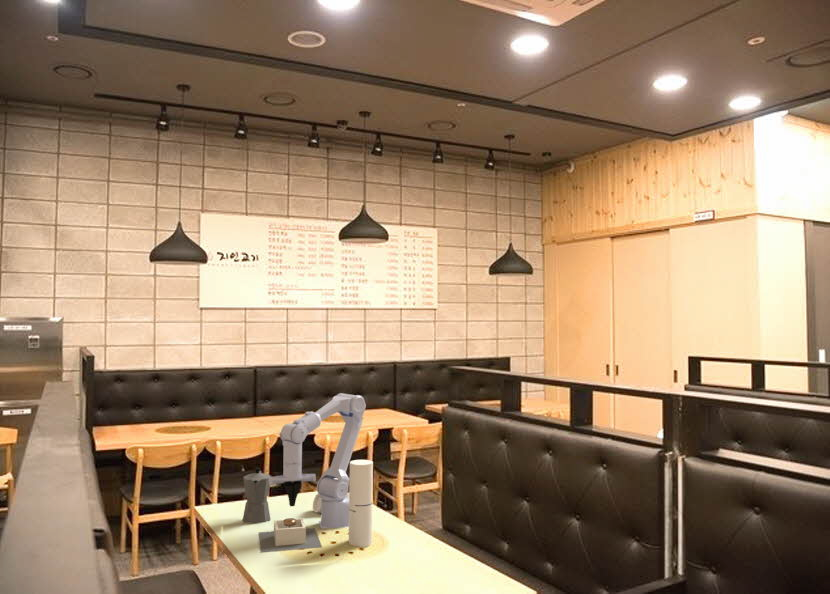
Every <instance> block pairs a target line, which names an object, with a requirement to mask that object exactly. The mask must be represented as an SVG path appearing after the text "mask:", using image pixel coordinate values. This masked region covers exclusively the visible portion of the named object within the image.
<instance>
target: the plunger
mask: <svg viewBox="0 0 830 594" xmlns="http://www.w3.org/2000/svg"><path fill="white" fill-rule="evenodd" d="M296 519H297V518H294V517H293V518H292V517H290V518H285V519H283V520H284V522H283V525H285V526H288V528H292V526H293V525H295V524H296Z"/></svg>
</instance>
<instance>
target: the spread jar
mask: <svg viewBox="0 0 830 594" xmlns="http://www.w3.org/2000/svg"><path fill="white" fill-rule="evenodd" d="M334 479H337V478H334ZM337 480H338V479H337ZM349 487H350V485H348V493H347V495H346V497H345V498H349ZM312 510H313V512H314V513H317V514H320V513H321V498H320V494H319V493H318V492H317V494H316V495H315V497H314V498H313V501H312Z"/></svg>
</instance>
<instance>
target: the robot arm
mask: <svg viewBox="0 0 830 594" xmlns="http://www.w3.org/2000/svg"><path fill="white" fill-rule="evenodd" d="M366 407H367V405H366V402H365V398H364V397H363V396H362V395H360V394H359V395H358V394H356V395H354V394H349V393H344V392H340V393H338V394H336V395H335V396H333V397H332V400H330V401H329V402H327V403H326V404H324V405H323V406H322V407H321V408H319V409H318V410H316V411H315V412H314V411H306V412H304V415H303V416H301V417H299V418H297V419H294V420H293V422H292V423H290V422H289V423H288V422H287V423H286V424H285V425H283V426H282V428H281V431H280V432H279V438H280V440H281V441H282V446H283V456H282V457H283V461H282V462H283V465H282V467H283V471H282V472H283V474H282V475H281V474H280V475H276V476H275V475H274V476H271V477H269V485H270V486H271V485H275V484H283V486H284V489H285V491H286V494H287V499H288V502H289V503H288V504H289V506H290V507H295V506H296V502H297V498H298V497H297V496H298V494H299V492H300V490H301V488H302V486H303V484H302V482H303V483H304V482H316V481H317V476H316V473H303V472H302V471H303V470H302V468H303V466H302V465H303V459H302V458H303V442H305V439H306V438H307V436H308V435H309V434H310V433H312V432H314V431H315V430H316V429H318V428H319V427H320V426H321V424H322V422H323V421H324V420H325V419H327V418H329V417H332V416H334V414H336V413H338V414H339V415H340V416H341V418H342V419H343V421H344V423H345V424H344V426H343V428H342V429H343V430H342V432H341V435H340V438H339V441H338V444H337V446H336V450H335V453H334V456H333V459H332V461H331V464H330V467H329V468H327V469H326V470H324V471H323V472H322V474H321V475H322V476H321V477H320V478H319V480H318V481H317V484H316V491H317V494H318V493H319V494H320V498H321V512H320V513H321V514H320V520H318V524H319V526H320V528H321V529H322V530H323V529H324V530H325V529H336V528H349V498H345V497H346V495H347V493H348V486H349V484H350V477H349V476H348V475H347V469H348V466H349V465H350V462H351V458H352V454H353V453H354V449H355V446H356V443H357V440H358V437H359V433H360V430H361V429H362V424H363V418H364V417H363V416H364V415H365V414H364V413H365V411H366ZM334 478H337V479H338V480H337V479H334Z"/></svg>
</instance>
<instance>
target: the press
mask: <svg viewBox="0 0 830 594" xmlns="http://www.w3.org/2000/svg"><path fill="white" fill-rule="evenodd" d="M295 519H296V524H295V525H293V526H292V528H288V526H285V525H283V522H284V519H279V520H278V519H277V520H273V531H274V540H275V546H280V545H292V544H304V543H306V529H307V527H306V524H305V521H304V518H295Z"/></svg>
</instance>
